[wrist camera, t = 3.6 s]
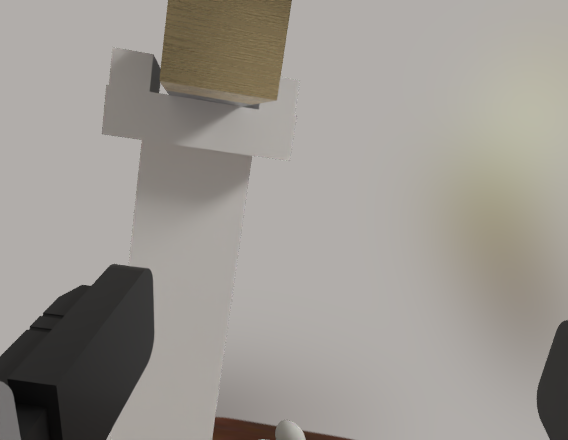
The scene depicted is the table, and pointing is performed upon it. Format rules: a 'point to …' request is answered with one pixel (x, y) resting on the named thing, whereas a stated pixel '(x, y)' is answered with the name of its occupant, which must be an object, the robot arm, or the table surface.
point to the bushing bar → (224, 50)
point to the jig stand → (187, 233)
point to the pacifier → (288, 431)
